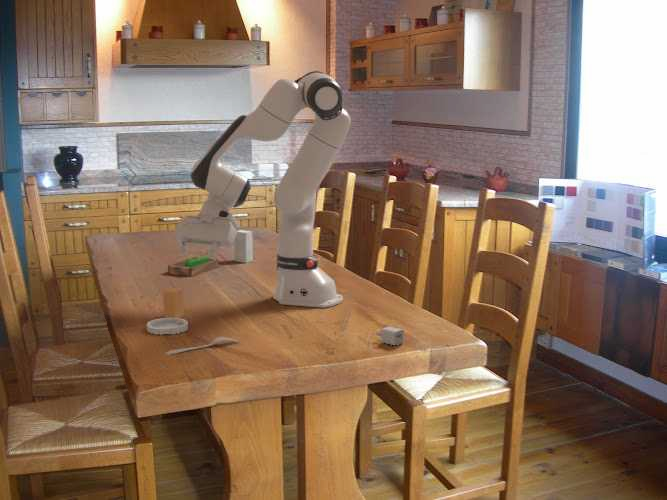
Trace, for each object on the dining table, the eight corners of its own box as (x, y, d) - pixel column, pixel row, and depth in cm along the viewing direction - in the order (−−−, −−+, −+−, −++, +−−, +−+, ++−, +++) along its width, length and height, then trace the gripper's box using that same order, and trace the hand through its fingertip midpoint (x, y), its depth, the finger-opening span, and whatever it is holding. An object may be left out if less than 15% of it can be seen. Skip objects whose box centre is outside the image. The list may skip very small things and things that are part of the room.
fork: (164, 362, 196) (162, 352, 196) (238, 341, 206) (237, 331, 206) (168, 365, 194) (166, 355, 193) (243, 344, 204) (241, 334, 203)
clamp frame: (219, 266, 293) (219, 259, 293) (190, 276, 277) (190, 268, 276) (196, 264, 297) (196, 256, 297) (167, 273, 281) (166, 265, 280)
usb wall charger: (394, 347, 202) (394, 332, 202) (373, 341, 207) (373, 327, 206) (403, 343, 205) (403, 329, 205) (382, 338, 210) (383, 323, 209)
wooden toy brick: (183, 315, 229) (182, 289, 227) (175, 318, 225) (174, 292, 223) (172, 313, 230) (171, 287, 229) (164, 317, 227) (163, 290, 225)
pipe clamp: (202, 268, 292) (202, 256, 291) (209, 269, 290) (209, 257, 289) (180, 273, 283) (180, 260, 282) (188, 274, 281) (188, 262, 280)
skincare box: (253, 261, 304) (252, 231, 301) (246, 263, 300) (245, 232, 298) (240, 259, 307) (240, 229, 304) (234, 261, 303) (233, 231, 301)
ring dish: (195, 326, 218) (195, 320, 218) (171, 336, 208) (171, 331, 208) (163, 321, 222) (163, 315, 222) (138, 331, 213) (138, 325, 212)
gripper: (180, 209, 243) (161, 245, 236) (235, 214, 235) (218, 251, 228) (188, 221, 248) (171, 256, 241) (243, 226, 239) (226, 263, 233)
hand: (194, 254), depth 234 cm, fingers open, 8 cm apart
